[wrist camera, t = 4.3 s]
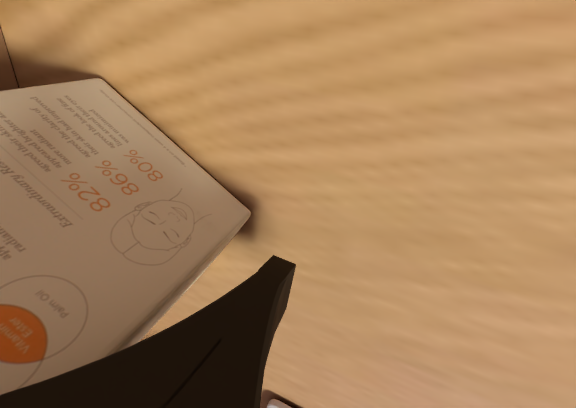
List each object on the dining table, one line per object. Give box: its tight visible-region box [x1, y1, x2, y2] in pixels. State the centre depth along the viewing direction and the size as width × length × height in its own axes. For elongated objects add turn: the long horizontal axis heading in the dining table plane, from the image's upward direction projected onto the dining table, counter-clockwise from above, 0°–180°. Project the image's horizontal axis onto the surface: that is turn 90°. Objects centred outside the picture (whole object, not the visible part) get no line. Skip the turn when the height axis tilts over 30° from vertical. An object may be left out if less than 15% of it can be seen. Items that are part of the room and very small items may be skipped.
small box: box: [0, 78, 251, 395], centre depth 9 cm, size 8×6×10 cm
